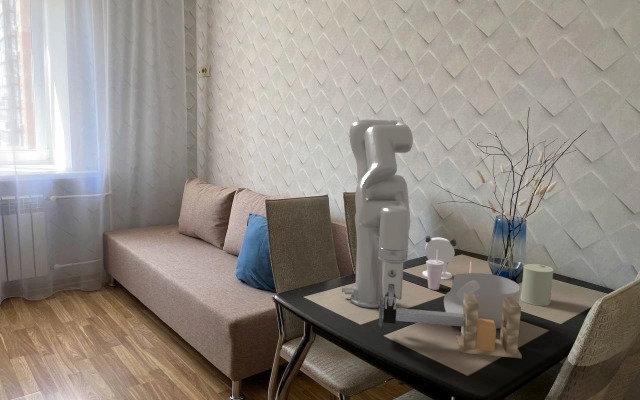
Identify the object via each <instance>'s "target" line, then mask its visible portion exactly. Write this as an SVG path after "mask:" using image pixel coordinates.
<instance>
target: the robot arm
mask: <svg viewBox="0 0 640 400" xmlns="http://www.w3.org/2000/svg"><path fill="white" fill-rule="evenodd" d="M349 127H350V128H349V143H350V144H349V145H350V148H351V151H352V154H353V156H354V159H355V161H356V162H355V163H356V170H357V171H356V174H357V186H356V189H355V198H354V203H355V215H354V224H355V230H356V231H355V232H356V263H355V264H356V265H355V269H356V270H355V283H354V285H353V286H342V287H341V292H342V293H344V295H350V297H349V298H350V299H349V300H350V302H351V303H352V304H354V305H356V306H358V307H361V308H367V309H377V308H378V309H379V308H380V300H383V307H384V314H383V319H382V323H383V324H393V325H394V324H396V322H397V321H396V308H397V306H396V305H397V300H399V301H401V300H402V296H403V293H402V292H403V282H404V279H403V278H404V263H405V262H407V261H408V254H409V239H410V238H409V237H410V236H409V235H410V230H411V211H410V210H411V209H410V199H409V190H408V189H409V188H408V184H407V181H406V179H405V178H404V176H402V175H400V174H396V173H397V172H398V165H397V157H396V153H397V154H406V153H408V152H410V151H411V150H412V148H413V144H414V137H413V132H412V130H411V128H410V127H409V126H408V125H407V124H406V123H404V122H402V121H401V120H395V119H360V120H356V121H353V122H352V123H351V125H350V126H349Z"/></svg>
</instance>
